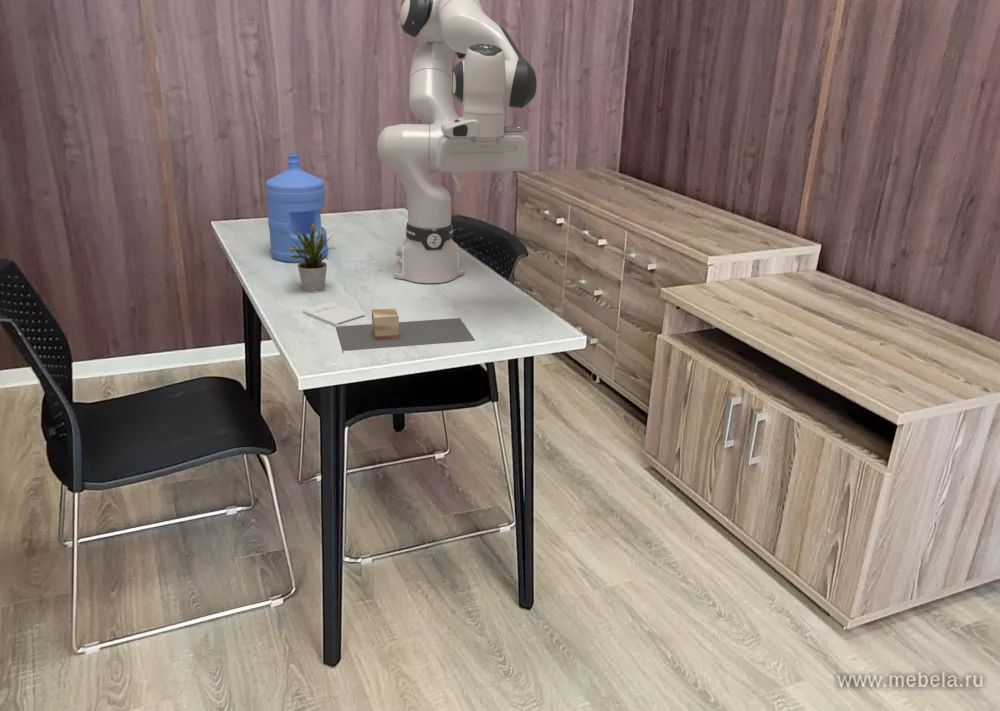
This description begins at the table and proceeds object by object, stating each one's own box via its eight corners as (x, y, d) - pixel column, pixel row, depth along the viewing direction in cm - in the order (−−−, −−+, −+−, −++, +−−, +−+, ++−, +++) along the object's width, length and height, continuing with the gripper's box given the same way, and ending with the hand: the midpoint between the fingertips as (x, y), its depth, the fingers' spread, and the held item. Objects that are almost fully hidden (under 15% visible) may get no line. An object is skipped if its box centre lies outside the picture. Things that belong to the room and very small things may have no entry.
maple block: (394, 308, 177) (395, 329, 179) (371, 309, 176) (372, 331, 178) (398, 316, 172) (398, 338, 174) (374, 317, 171) (375, 339, 173)
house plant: (283, 279, 210) (279, 216, 204) (338, 277, 213) (335, 216, 207) (281, 297, 197) (277, 231, 191) (340, 295, 200) (337, 230, 194)
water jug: (259, 258, 226) (250, 156, 215) (292, 245, 240) (285, 148, 229) (307, 266, 221) (301, 161, 210) (338, 252, 235) (334, 153, 224)
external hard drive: (336, 330, 181) (302, 315, 188) (365, 321, 187) (331, 307, 194) (336, 323, 180) (302, 309, 188) (365, 314, 186) (331, 300, 193)
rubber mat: (335, 329, 180) (335, 326, 179) (459, 320, 187) (459, 317, 187) (343, 353, 167) (343, 350, 167) (475, 343, 175) (475, 340, 175)
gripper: (525, 124, 179) (522, 187, 185) (433, 124, 174) (433, 189, 179) (534, 128, 174) (531, 193, 179) (440, 128, 168) (439, 195, 173)
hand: (481, 191), depth 179 cm, fingers open, 8 cm apart
